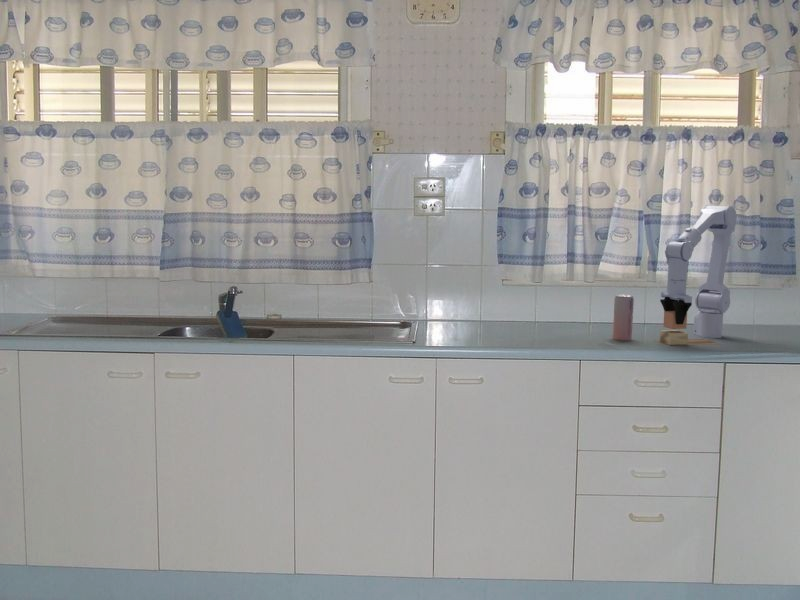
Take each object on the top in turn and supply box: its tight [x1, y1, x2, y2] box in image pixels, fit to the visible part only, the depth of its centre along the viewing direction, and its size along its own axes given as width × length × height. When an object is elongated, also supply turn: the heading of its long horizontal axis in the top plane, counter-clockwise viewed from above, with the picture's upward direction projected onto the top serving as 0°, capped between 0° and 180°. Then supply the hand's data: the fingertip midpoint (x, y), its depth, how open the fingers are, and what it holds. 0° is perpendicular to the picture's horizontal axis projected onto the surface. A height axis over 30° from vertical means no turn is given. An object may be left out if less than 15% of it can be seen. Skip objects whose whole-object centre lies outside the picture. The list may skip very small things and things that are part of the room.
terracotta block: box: [662, 310, 688, 330], centre depth 262 cm, size 5×5×5 cm
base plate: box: [654, 338, 720, 347], centre depth 264 cm, size 10×18×1 cm, turn 104°
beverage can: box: [612, 294, 635, 342], centre depth 268 cm, size 6×6×15 cm
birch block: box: [659, 329, 689, 345], centre depth 263 cm, size 6×6×4 cm
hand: (674, 322), depth 262 cm, fingers closed on terracotta block, 5 cm apart
